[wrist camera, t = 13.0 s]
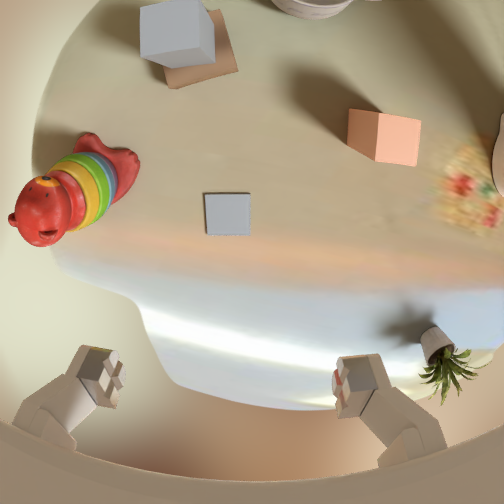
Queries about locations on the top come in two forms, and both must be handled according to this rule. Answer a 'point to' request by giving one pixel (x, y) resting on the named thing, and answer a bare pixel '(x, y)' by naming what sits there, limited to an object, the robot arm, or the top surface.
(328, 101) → the top surface
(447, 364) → the house plant
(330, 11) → the teacup
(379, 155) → the terracotta pillar
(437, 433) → the robot arm
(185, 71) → the walnut block
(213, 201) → the slate swatch
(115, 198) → the stacking bear
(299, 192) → the top surface
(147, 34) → the slate pillar
